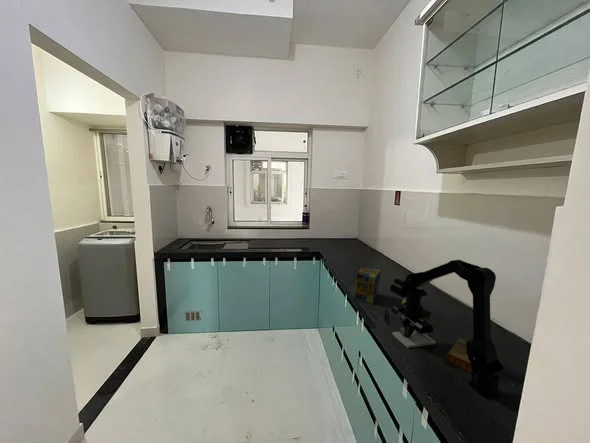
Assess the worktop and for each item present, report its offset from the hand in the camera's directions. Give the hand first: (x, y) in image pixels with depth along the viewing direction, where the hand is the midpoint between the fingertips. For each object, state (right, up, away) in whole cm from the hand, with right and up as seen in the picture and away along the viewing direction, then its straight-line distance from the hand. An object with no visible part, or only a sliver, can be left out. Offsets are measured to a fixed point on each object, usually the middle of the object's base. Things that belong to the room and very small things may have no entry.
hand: (408, 336), depth 114 cm
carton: (+17, -5, -10) cm, 20 cm away
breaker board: (+3, -2, +1) cm, 4 cm away
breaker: (+7, 0, +6) cm, 9 cm away
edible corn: (+12, +1, +25) cm, 27 cm away
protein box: (-7, +5, +42) cm, 43 cm away
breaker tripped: (-1, 0, +3) cm, 3 cm away
